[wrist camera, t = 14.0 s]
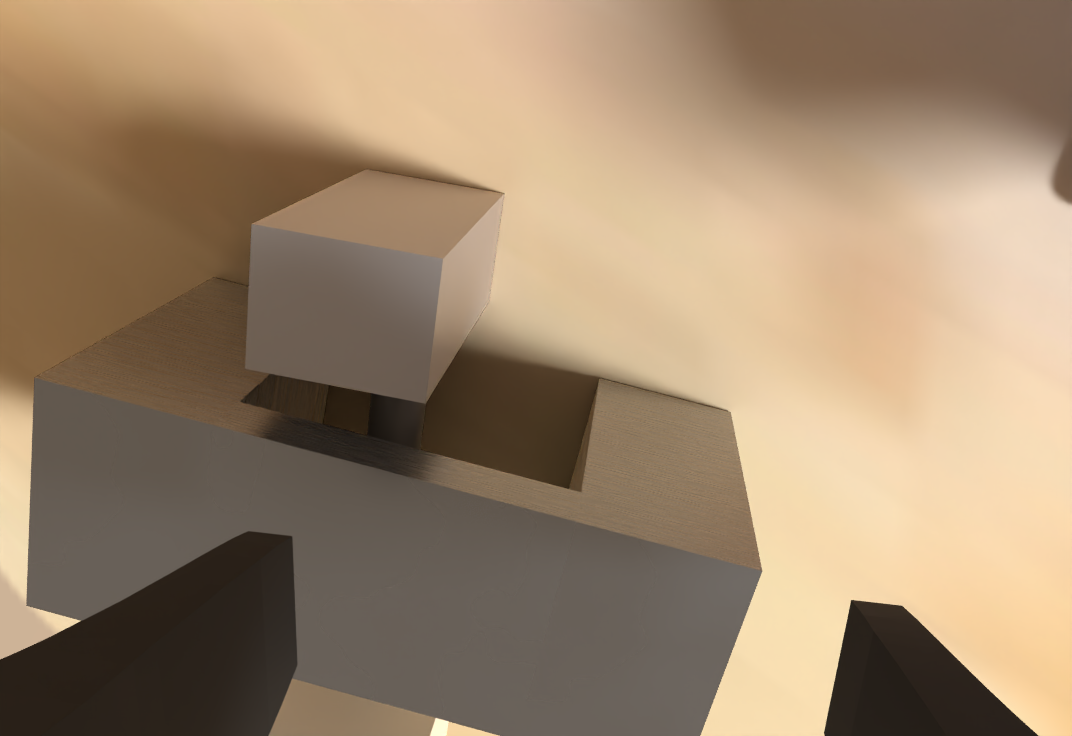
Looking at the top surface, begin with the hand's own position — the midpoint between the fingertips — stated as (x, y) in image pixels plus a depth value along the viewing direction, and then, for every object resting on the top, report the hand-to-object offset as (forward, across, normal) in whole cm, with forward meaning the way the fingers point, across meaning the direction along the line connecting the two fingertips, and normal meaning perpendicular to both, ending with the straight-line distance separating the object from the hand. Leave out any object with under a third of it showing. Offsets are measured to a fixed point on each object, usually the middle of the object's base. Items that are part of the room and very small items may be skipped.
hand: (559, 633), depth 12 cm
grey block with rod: (+9, +5, +4) cm, 11 cm away
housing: (+9, +3, +2) cm, 10 cm away
